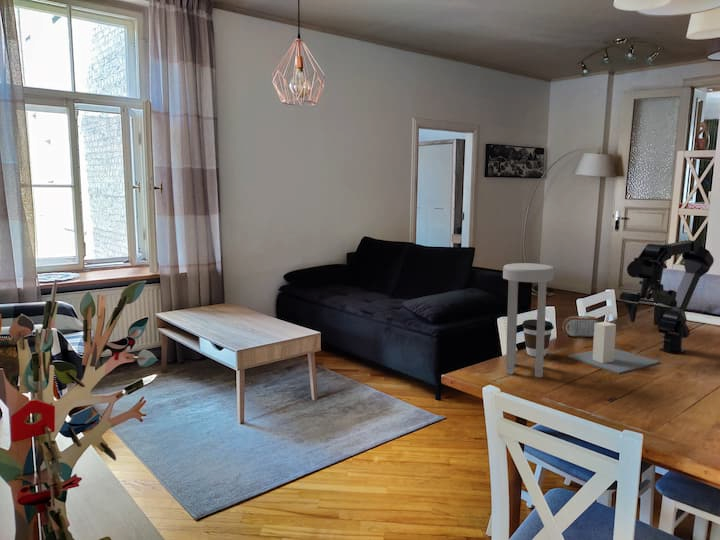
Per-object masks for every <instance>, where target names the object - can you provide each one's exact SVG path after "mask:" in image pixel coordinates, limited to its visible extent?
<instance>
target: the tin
mask: <svg viewBox="0 0 720 540" xmlns="http://www.w3.org/2000/svg"><path fill="white" fill-rule="evenodd" d="M599 322H601V321H599V319H598V318H597V317H595V316H592V315H591V316H588V315H587V316H585V315H584V316H583V315H581V316H580V315H569V316H568V317H566V318H565V319H564V320H563V322H562V324H561V328H562V332H564V334H566V335H567V336H568V335H569V337H572V338H594V324H595V323H599Z"/></svg>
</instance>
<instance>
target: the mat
mask: <svg viewBox="0 0 720 540" xmlns="http://www.w3.org/2000/svg"><path fill="white" fill-rule="evenodd" d="M567 358H568V359H571V360H574V361H576V362H577V361H578V362H581V363H583V364H587V365H589V366H592V367H596V368H598V367H599V369H602V370H604V371H607V372H610V373H614V374H617V375H620V373H621V374H623V373H629V372H631V371H634V370H636V371H637V370H638V369H639V370H640V369H642V368H646V367H650V366H654V365H658V364H661V361H660V360H657V359H653V358H650V357H646V356H642V355H640V354H639V355H638V354H635V353H632V352H629V351H625V350H622V349H618V348H615V351H614V361H613V362H607V363H601V362H598V361H596V360H593V349H592V350H588V351H584V352H580V353H576V354H570V355H567Z"/></svg>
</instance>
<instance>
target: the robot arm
mask: <svg viewBox="0 0 720 540" xmlns="http://www.w3.org/2000/svg"><path fill="white" fill-rule="evenodd" d="M678 255H681V258H682V259H683V261H684V263H683V267H684V271H685V272H684V275H683V277H682V279H681V281H680V283H679V285H678V288H677V291H676V290H672V289H668V290H665V289H664V288H665V286H664V284H663V283H662V279H663V273H664V269H667V268H668V265H666V264H665V262H667V261H669V260H671V259H672V258H673V256H678ZM714 262H715V260H714V256H713V254H712V253H711V252H710V251H709V249H707V248H705V247H704V246H702V245H701V244H700V242H699V241H697V240H691V239H690V240H688V239H685V240H682V241H677V242H672V243H666V244H661V243H660V244H659V243H647V244H646V245H645V247H644V248H643V250H642V251H641V253H640V254H639V255H638V257H634V258H633V261H631V262H629V264H628V265H627V267H626V272H627V274H628V276H630V277H632V278H635V279H642V281H641V280H639V282H638V283H639V285H640V291H639V292H637V293H634V292H629V291H628V292H627V291H622V292H621V293H620V294H619V300H621V301H622V303H624V305H625V307H626V311H627V314H628V317H629V319H630V323H635V320H636V315H637V312H638V308H639V307H640V306H641V303H640V302H644V303H655V304H654V305H653V306H654V307H653V324H654V325H653V326H657V329H658V333H659V334H664V335H663V342H662V343H663V345H662V347H659V349H658V350H659V351H663V352H667V353H669V354H670V353H671V354H674V355H677V354H681V353H686V352H687V350H686V349H684V348H683V339H686V338H688V337H689V336H690V333H691V329H690V328H689V327H688V325H687V324H686V323H687V322H688V320H687V314H686V310H687V307H688V306H689V303H690V301H691V299H692V297H693V295H694V292H695V290H696V287H697V285H698V283H699V281H700V278H701V277H702V276H704V275H705V274H707V273H709V271H710V269H711V268H712V266H713V265H714Z"/></svg>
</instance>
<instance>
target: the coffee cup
mask: <svg viewBox="0 0 720 540" xmlns="http://www.w3.org/2000/svg"><path fill="white" fill-rule="evenodd" d="M521 328H523V336H524V342H525V349H526V353H527V355H528V356H529V355H530V356H529V357H532V356H534V358H536V334H537V318H536V319H526V320H523V321H522V323H521ZM553 329H554V325H553V323H552V322H550V321H549V320H545V334H544V357H546V355H547V352H548V348H549V346H550V342H551V341H550V340H551V335H552V330H553Z"/></svg>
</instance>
